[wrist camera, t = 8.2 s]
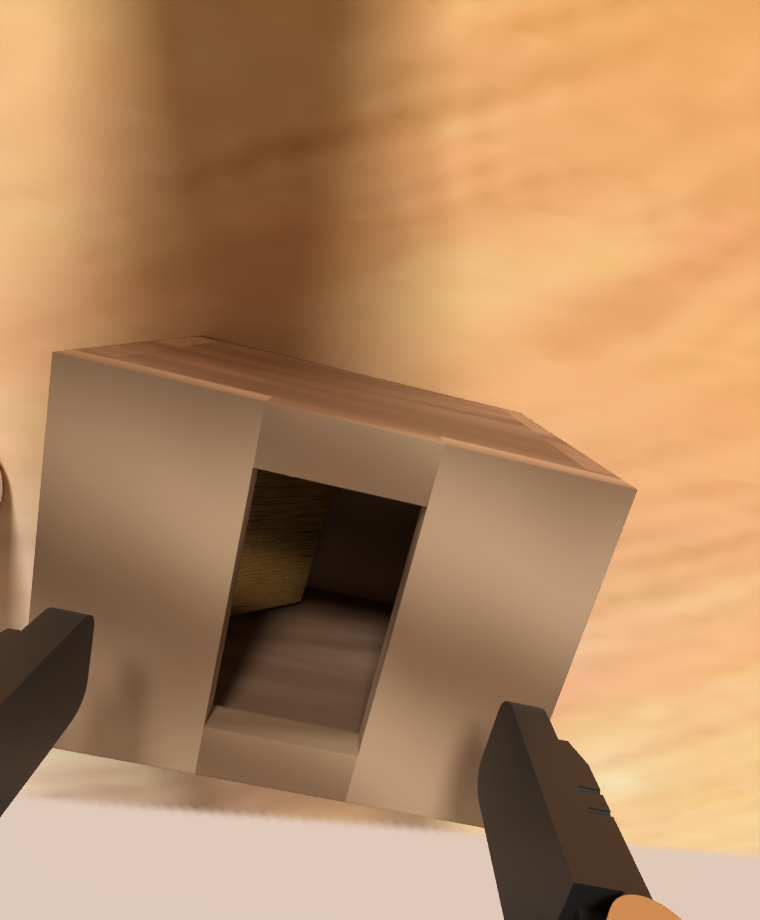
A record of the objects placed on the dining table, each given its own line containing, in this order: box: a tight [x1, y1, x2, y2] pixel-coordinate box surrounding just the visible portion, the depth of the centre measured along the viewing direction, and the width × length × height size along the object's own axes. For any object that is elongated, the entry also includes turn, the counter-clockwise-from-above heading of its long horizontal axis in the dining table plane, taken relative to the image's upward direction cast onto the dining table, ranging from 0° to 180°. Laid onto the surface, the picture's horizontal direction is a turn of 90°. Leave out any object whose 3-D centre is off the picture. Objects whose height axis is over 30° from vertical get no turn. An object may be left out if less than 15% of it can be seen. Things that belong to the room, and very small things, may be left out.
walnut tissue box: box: [29, 336, 637, 828], centre depth 18 cm, size 10×13×10 cm
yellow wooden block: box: [230, 469, 335, 616], centre depth 20 cm, size 5×2×6 cm
